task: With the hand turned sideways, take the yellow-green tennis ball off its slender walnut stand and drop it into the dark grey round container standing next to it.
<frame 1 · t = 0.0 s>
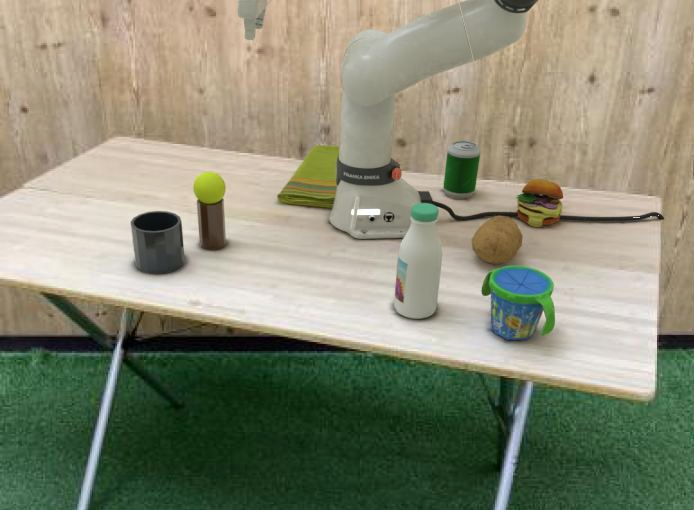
hand: (254, 33, 155), 39 cm above the table, tool pointing down, fingers open, 8 cm apart
soda can: (458, 194, 187), on the table
ball stand: (213, 244, 164), on the table
cheeseburger: (536, 218, 177), on the table
milk bottle: (414, 309, 144), on the table
potato: (494, 259, 160), on the table
tennis ball: (209, 187, 157), point 13 cm above the table, touching ball stand
dark grey round container: (160, 262, 157), on the table
dish towel: (325, 179, 194), on the table, touching arm
snack cup: (512, 331, 138), on the table
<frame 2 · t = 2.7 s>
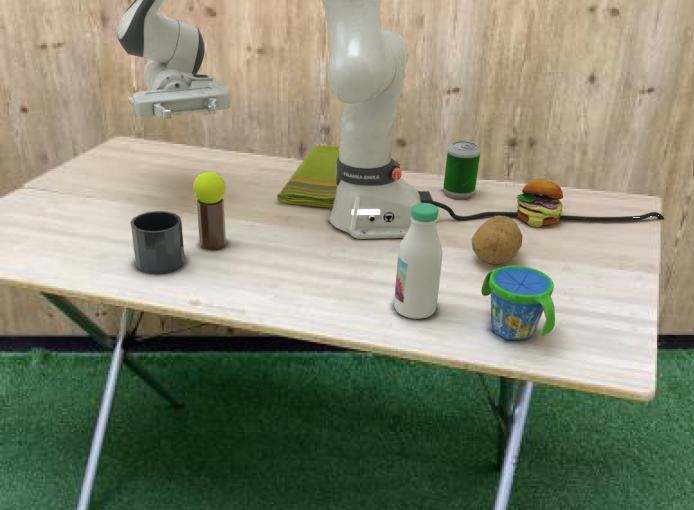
hand: (190, 112, 160), 24 cm above the table, tool horizontal, fingers open, 8 cm apart
nothing on the table moved.
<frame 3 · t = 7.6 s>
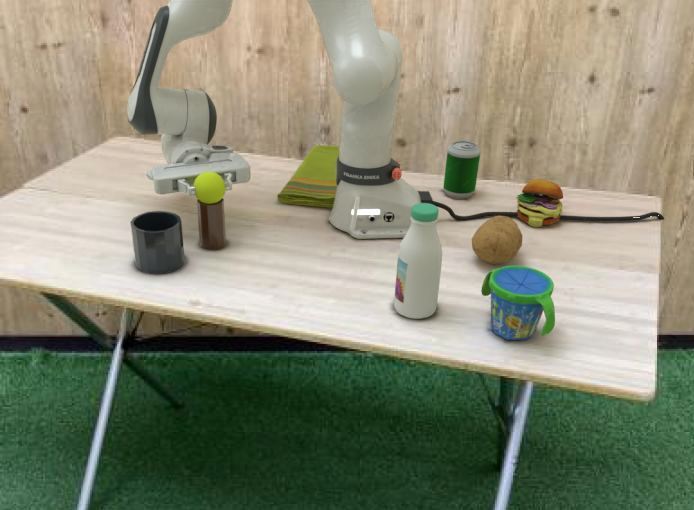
hand: (210, 189, 156), 13 cm above the table, tool horizontal, fingers closed on tennis ball, 6 cm apart
tennis ball: (209, 187, 157), point 13 cm above the table, touching ball stand, gripper
everything else where it was.
when the fingers open (16 cm above the table, at t = 13.6 s): tennis ball drops 12 cm, resting on dark grey round container.
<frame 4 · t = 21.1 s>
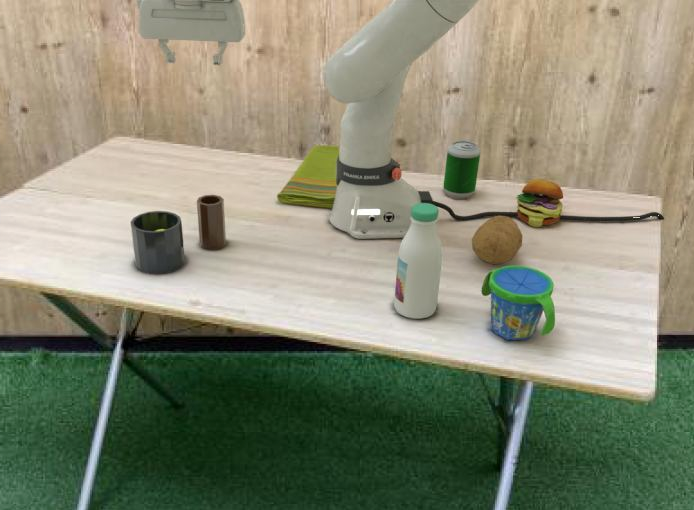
hand: (194, 63, 154), 34 cm above the table, tool pointing down, fingers open, 8 cm apart
tennis ball: (162, 245, 155), point 4 cm above the table, tilted 14°, touching dark grey round container
everything else where it was.
at the end: tennis ball 0.8 cm off-centre in the dark grey round container, point 3.8 cm above the dark grey round container's base; the gripper is holding nothing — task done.
